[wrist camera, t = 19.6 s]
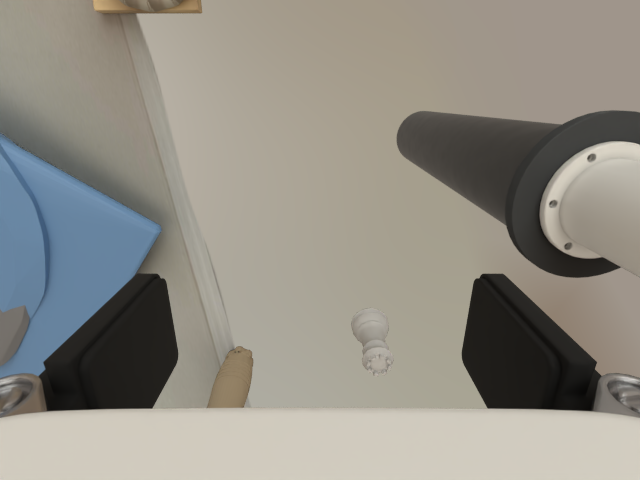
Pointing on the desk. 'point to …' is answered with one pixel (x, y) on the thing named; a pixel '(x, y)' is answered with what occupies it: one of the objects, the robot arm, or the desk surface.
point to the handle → (232, 380)
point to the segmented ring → (151, 4)
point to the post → (109, 3)
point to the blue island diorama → (57, 256)
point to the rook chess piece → (373, 340)
